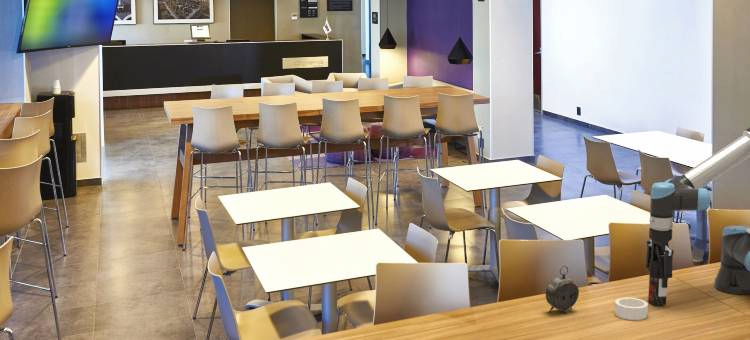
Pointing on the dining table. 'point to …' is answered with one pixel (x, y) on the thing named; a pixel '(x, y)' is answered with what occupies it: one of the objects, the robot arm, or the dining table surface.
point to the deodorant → (655, 285)
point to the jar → (631, 308)
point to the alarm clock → (562, 293)
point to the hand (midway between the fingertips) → (657, 292)
